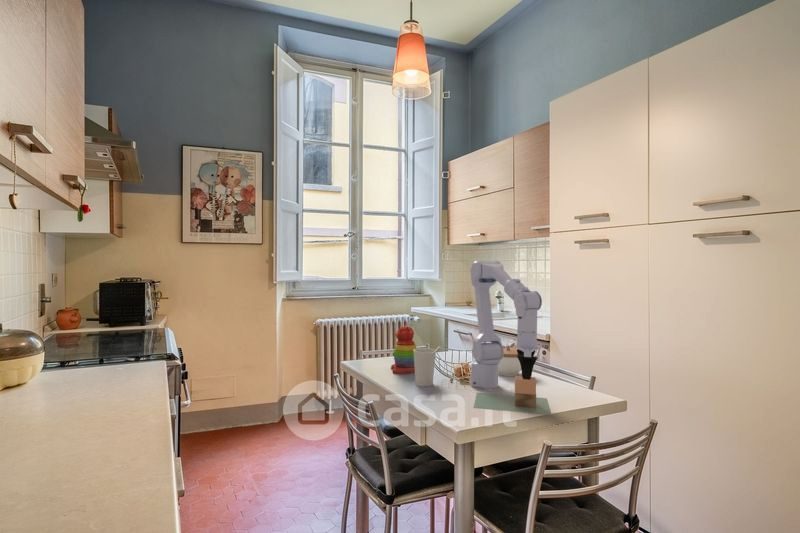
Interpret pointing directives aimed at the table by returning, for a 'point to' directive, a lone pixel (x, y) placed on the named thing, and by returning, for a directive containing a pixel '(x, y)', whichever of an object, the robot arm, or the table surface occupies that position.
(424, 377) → the cup
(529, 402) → the walnut base brick
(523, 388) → the terracotta brick
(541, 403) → the baseplate
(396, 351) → the stacking bear
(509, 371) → the lidded bowl
